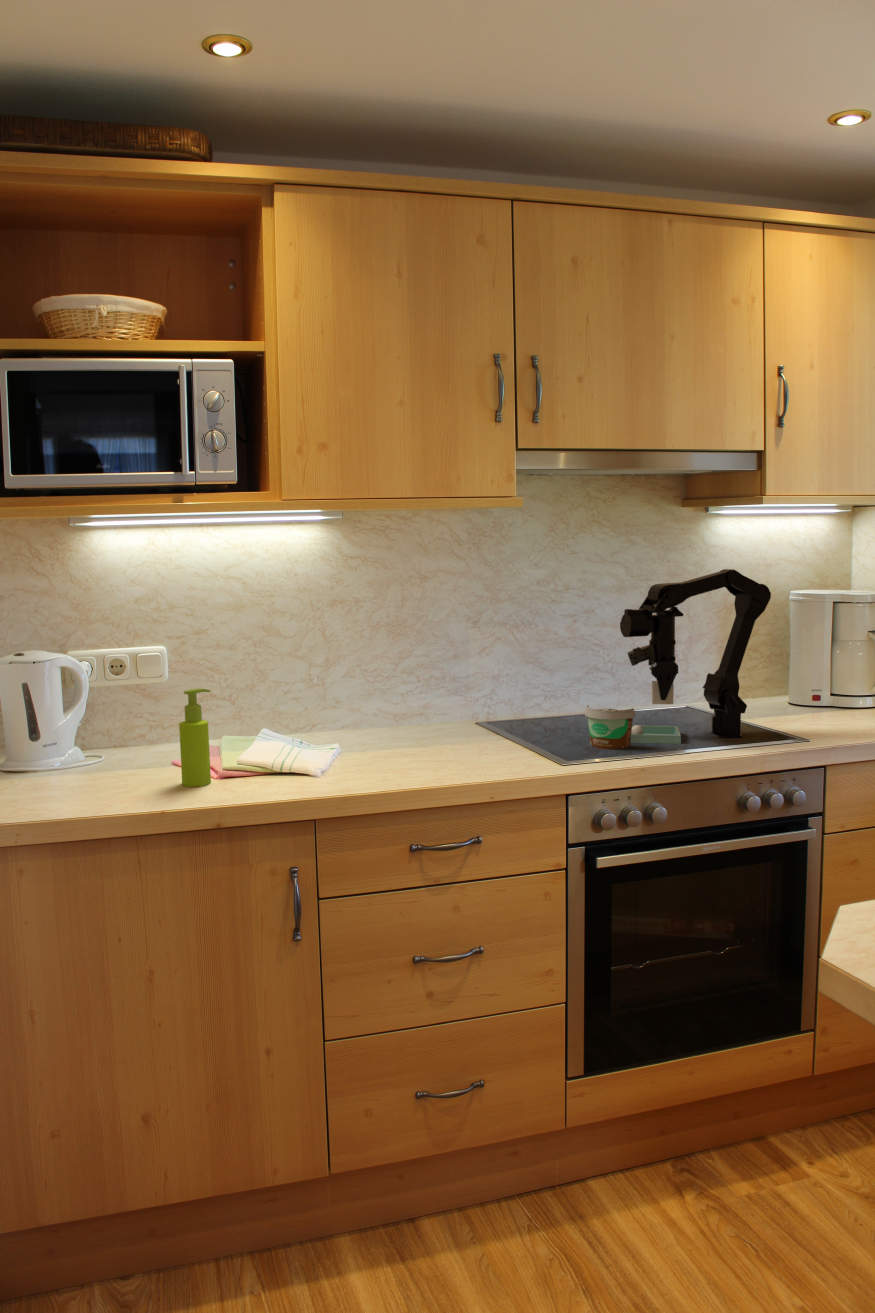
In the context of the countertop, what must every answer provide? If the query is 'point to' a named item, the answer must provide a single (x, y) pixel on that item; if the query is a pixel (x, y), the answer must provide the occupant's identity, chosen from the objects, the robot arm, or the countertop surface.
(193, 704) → the soap dispenser
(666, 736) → the tray
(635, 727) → the pebble
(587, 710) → the food container
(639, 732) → the pebble
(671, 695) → the beige cube
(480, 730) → the countertop surface
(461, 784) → the countertop surface
